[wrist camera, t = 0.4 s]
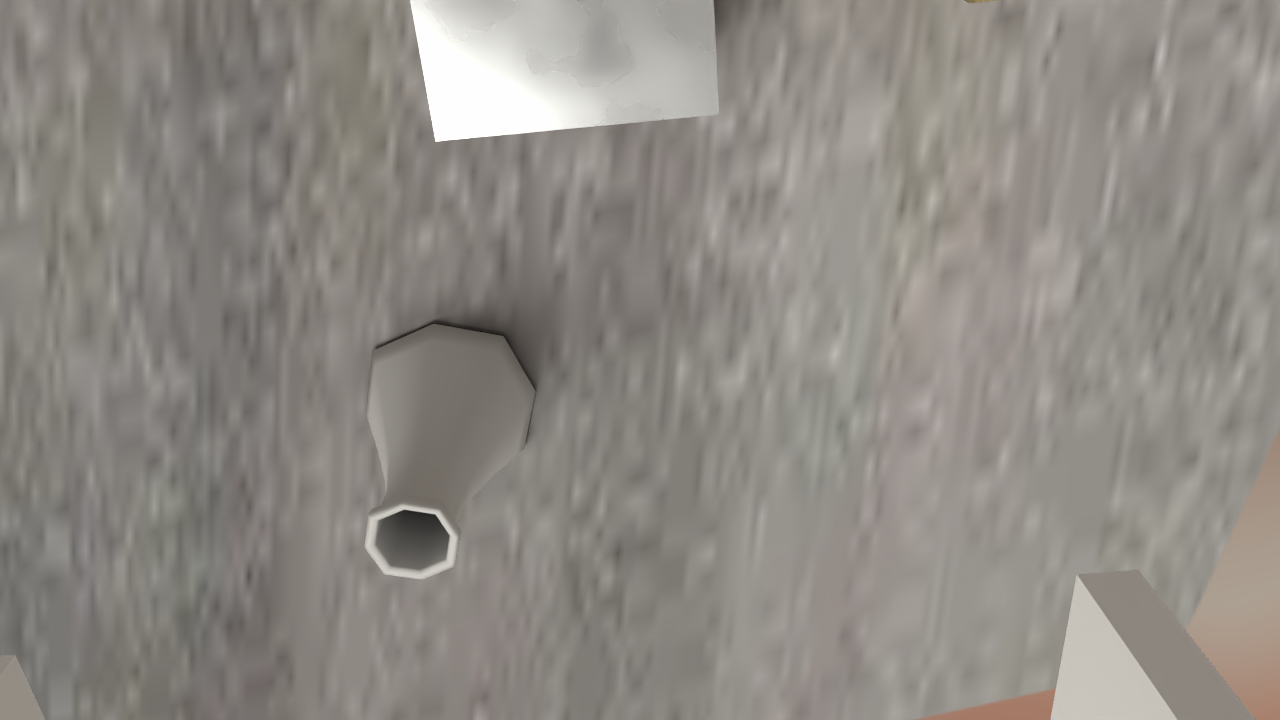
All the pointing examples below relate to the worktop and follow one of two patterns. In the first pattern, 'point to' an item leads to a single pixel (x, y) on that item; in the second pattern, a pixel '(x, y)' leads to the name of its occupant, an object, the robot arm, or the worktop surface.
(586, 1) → the block
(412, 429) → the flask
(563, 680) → the worktop surface
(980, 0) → the pin
